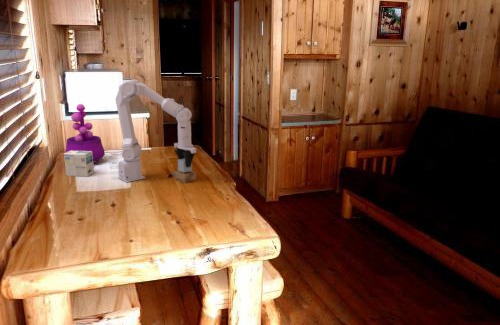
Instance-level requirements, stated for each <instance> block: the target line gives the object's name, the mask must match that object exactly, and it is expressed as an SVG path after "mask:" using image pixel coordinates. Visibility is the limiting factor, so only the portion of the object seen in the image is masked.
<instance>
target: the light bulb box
mask: <svg viewBox="0 0 500 325" xmlns="http://www.w3.org/2000/svg"><path fill="white" fill-rule="evenodd" d="M63 159H64V164H65V165H64V166H65V167H64V168H65V175H66V177H85V178H87V177H89V176H91V175H93V174H95V166H94V162H93V155H92V151H72V150H71V151H69V152H67V153H65V152H64V153H63Z"/></svg>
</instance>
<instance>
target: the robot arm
mask: <svg viewBox="0 0 500 325" xmlns="http://www.w3.org/2000/svg"><path fill="white" fill-rule="evenodd" d="M134 96H145V97H146V98H148V99H150V100H151V101H154V102H155V103H157V104H159V105H160V107H161V110H163V111H164V112H166V113H167V114H169V115H170V116H172V117H174V118H175V119H176V121H177V142H174V143H173V146H174V147H173V148H176V149H174V152H175V154H176V156H177V160H178V159H184V158H185V164H186V167H191V163H192V164H193V160H194V157H195V155H196V153H197V148H196V147H194V145H193V144H192V122H191V118H192V117H193V116H192V111H191V110H190V109H189V107H184V105H180V103H177V102H176V101H175V99H174V98H169V97H167V98H165V97H164V96H162V95H161V94H160V93H158V92H157V91H155V90H153V89H152V88H151V87H149V85H146V83H143V82H141V81H140V80H138V79H136V78H135V79H134V78H133V79H130V80H125V81H123V82H121V84H120V85H118V91H117V94H116V96H115V104H116V109H117V114H118V115H117V116H118V120H119V124H120V129H121V134H122V144H121V147H122V150H121V157H122V159H123V160H121V161H119V162H118V164H117V166H118V168H117V169H118V179H119V180H121V181H123V182H125V183H129V182H134V181H139V180H143V179H144V180H145V179H146V177H145V176H144V175H142V161H141V159H142V158H141V156H140V155H141V154H142V152H143V151H142V146H141V145H140V144H139V140H138V138H137V137H136V133H135V128H134V124H133V122H134V121H133V118H132V112H131V107H130V101H131V100H132V99H133V98H134Z"/></svg>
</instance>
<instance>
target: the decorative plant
mask: <svg viewBox="0 0 500 325" xmlns="http://www.w3.org/2000/svg"><path fill="white" fill-rule="evenodd" d="M85 109H86V107H85V105H84V104H83V103H79V104H77V105H76V111H78V112H74V113H72V114H71V120H72V121H73V122H74V123H73V124H72V128H73V129H74V130H75V131H78V132H79V133H78V134H77V135H76V136H71V137H68V138H67V139H66V144H65V151H64V153H67V152H69V151H71V150H72V151H92V155H93V163H95V162H98V161H100V160H102V159H103V158H104V156H105V155H106V153H105V148H104V146H103V143H102V139H101V137H100V136H99V135H93V134H94V133H93V132H92V131H91V130H92V129H93V126H94V125H93V124H92V123H91V122H86V123H85V119H84V118H85V117H86V116H87V113H86V112H85Z"/></svg>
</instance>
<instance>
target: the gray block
mask: <svg viewBox="0 0 500 325" xmlns="http://www.w3.org/2000/svg"><path fill="white" fill-rule="evenodd" d="M177 171H181V172H183V173H184V172H189V171H193V162H192V163H191V167H186V164H185V158H184V159H178V158H177Z"/></svg>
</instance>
